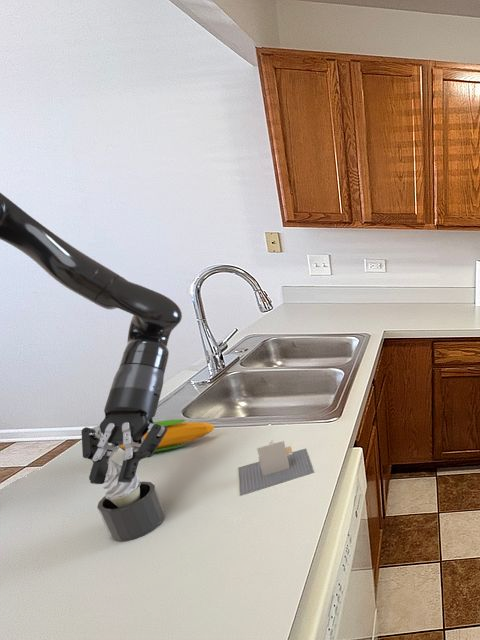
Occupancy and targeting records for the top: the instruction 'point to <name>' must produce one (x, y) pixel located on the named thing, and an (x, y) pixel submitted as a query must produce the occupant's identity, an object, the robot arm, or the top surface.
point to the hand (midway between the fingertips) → (110, 482)
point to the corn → (180, 433)
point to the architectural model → (274, 467)
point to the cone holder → (133, 515)
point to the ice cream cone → (121, 487)
